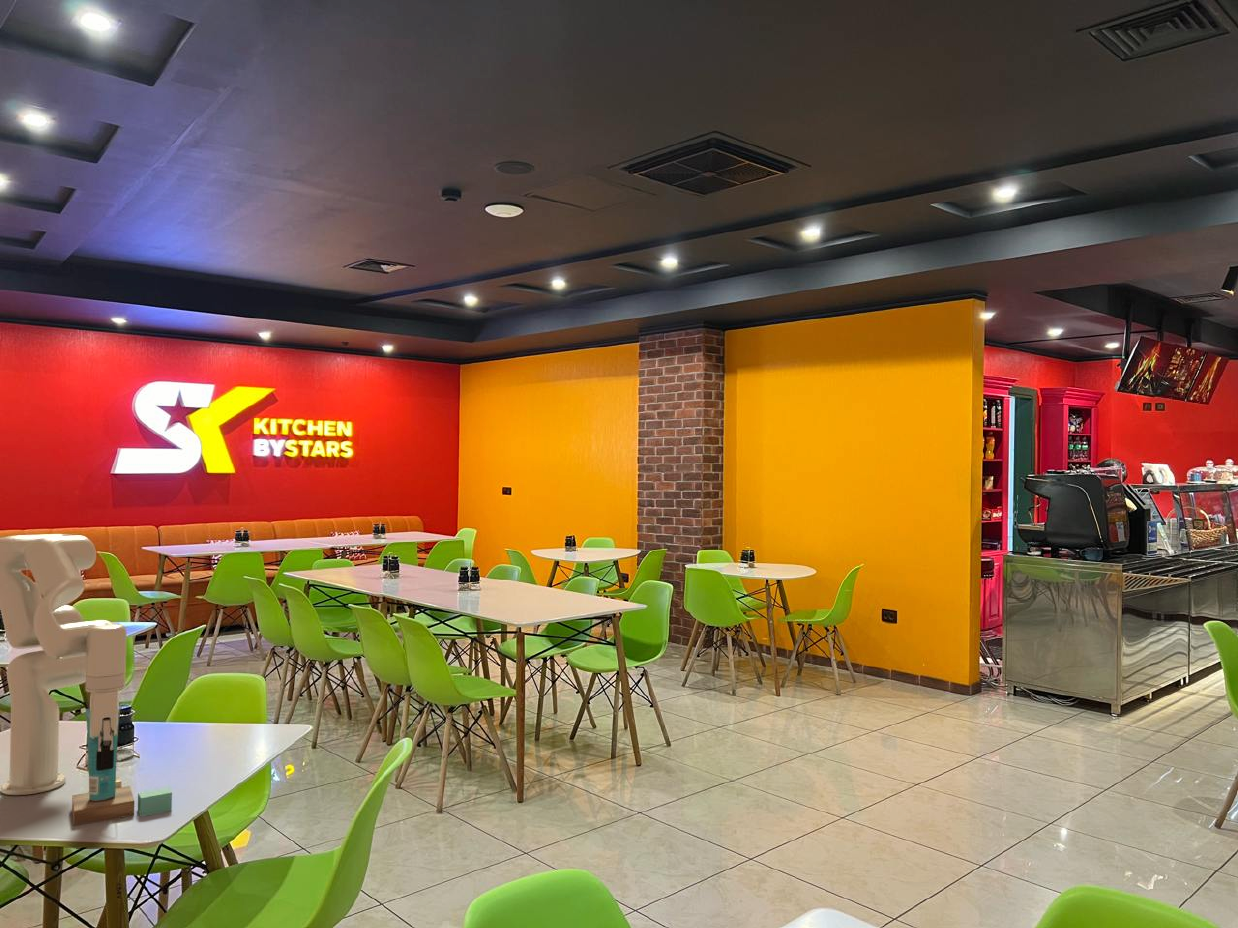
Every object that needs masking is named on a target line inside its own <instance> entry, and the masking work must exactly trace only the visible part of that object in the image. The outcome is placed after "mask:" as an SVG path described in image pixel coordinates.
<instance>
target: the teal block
mask: <svg viewBox="0 0 1238 928" xmlns="http://www.w3.org/2000/svg"><path fill="white" fill-rule="evenodd" d="M172 800H173V792H172V790H171V788H170V787H163V788H158V789H153V790H148V791H140V792H137V812H138V814H139V816H140V817H144V816H149V815H154V814H155V815H156V814H160V813H165V812H169V811H172V807H173V804H172V803H173V801H172Z"/></svg>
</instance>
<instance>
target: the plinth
mask: <svg viewBox="0 0 1238 928" xmlns="http://www.w3.org/2000/svg"><path fill="white" fill-rule="evenodd" d="M71 802H72V803H71V812H72V819H73V826H80V825H85V824H91V823H95V822H102V821H107V820H112V819H117V818H118V819H119V818H123V817H130V816H134V815H135V798H134V795H133V791H132V789H131V786H130V785H128V786H121V788H116V792H115V796H114V797H112V798H109V799H106V800H100V801H93V800H90V799H89V792H85V793H79V794H73V795H72V799H71Z"/></svg>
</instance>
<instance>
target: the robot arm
mask: <svg viewBox="0 0 1238 928" xmlns="http://www.w3.org/2000/svg"><path fill="white" fill-rule="evenodd" d="M96 559H97V551H96V547H95V545H94V543H93V542H92V541H91V540H90V539H89V538H88V537H87V536H85V535H79V534H78V535H77V534H67V533H52V534H51V533H50V534H49V533H48V534H20V535H8V536H2V537H0V613H1V618H2V623H3V627H4V632H5V635H6V639H7V642H8V645H10V647H12V649H13V648H14V649H16V650H27V649H34V648H35V649H36V648H42V650H37V651H31V652H26V653H23V654H20V655H18V656H16V657H14V658H13V659H12V660H11V661H10V662H9V664H8V665H7V669H6V678H7V684H8V690H9V698H10V735H9V736H10V743H9V744H10V745H9V779H8V781H5V782H4V783H3V784H2V785H1V786H0V792H1V793H2V794H4V795H9V796H25V795H34V794H40V793H44V792H48V791H52V790H54V789H56V788H57V789H58V788H59V787H61V786H63V785H64V784H65V783H66V775H64V774H62V773H59V749H60V748H59V745H60V741H59V740H60V739H59V737H60V708H59V705H58V703H57V702H56V700H54V698H53V697H52V696H51V695H50V694H49V692H50V691H53V690H58V689H63V688H68V687H73V686H78V685H83V684H85V692H86V693H90V696H89V697H90V698H89V709H90V716H89V734H90V737H91V738H92V739H94V737H98V751H97V752H96V770H97V771H100V770H106V769H112V768H113V767H114V749H113V736H115V735H116V734H117V725H118V711H119V709H120V707H119V705H120V704H119V703H120V690H124V688H126V680H127V679H126V673H127V672H126V671H127V667H126V666H127V634H128V633H127V629H126V627H125V626H124V625H122V624H114V623H113V622H111V621H109V620H106V619H97V620H89V621H87V620H86V621H84V618H83V616H82V614H81V612H80V611H79V609H78V608H76V607H74V606H72V605H69V604H70V603H72V602H73V601H75V600H77V599H78V598H79V597H80V596H81V595H82V594H83V592H84V590H85V588H86V583H85V580H84V579H83V577H82V575H81V573H80V571H85V570H88V569H91V568H92V567H93V566H94V564H95V562H96ZM28 570H29V571H30V573H31V575H32V577H33V580H34V581H33V580H32V579H31V578H30V577H29V576H27V575H26V574H24V573H23V572H22V571H28ZM102 725H103V726H102ZM118 726H119V725H118ZM113 730H114V731H113ZM110 733H111V735H110ZM100 734H103V736H101V737H100ZM101 740H103V741H102V742H101Z"/></svg>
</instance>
